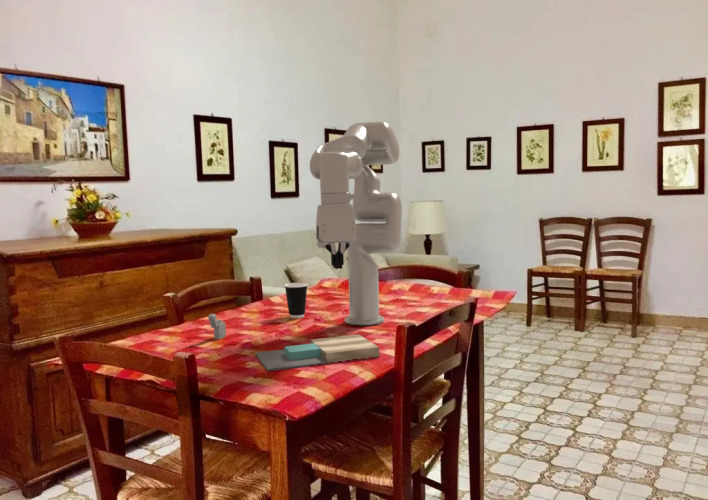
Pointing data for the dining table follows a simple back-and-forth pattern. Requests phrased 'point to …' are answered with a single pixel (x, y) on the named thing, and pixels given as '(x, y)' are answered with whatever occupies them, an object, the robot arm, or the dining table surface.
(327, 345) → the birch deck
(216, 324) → the lighter
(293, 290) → the dixie cup
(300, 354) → the teal tile
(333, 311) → the dining table surface
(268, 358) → the rubber mat
